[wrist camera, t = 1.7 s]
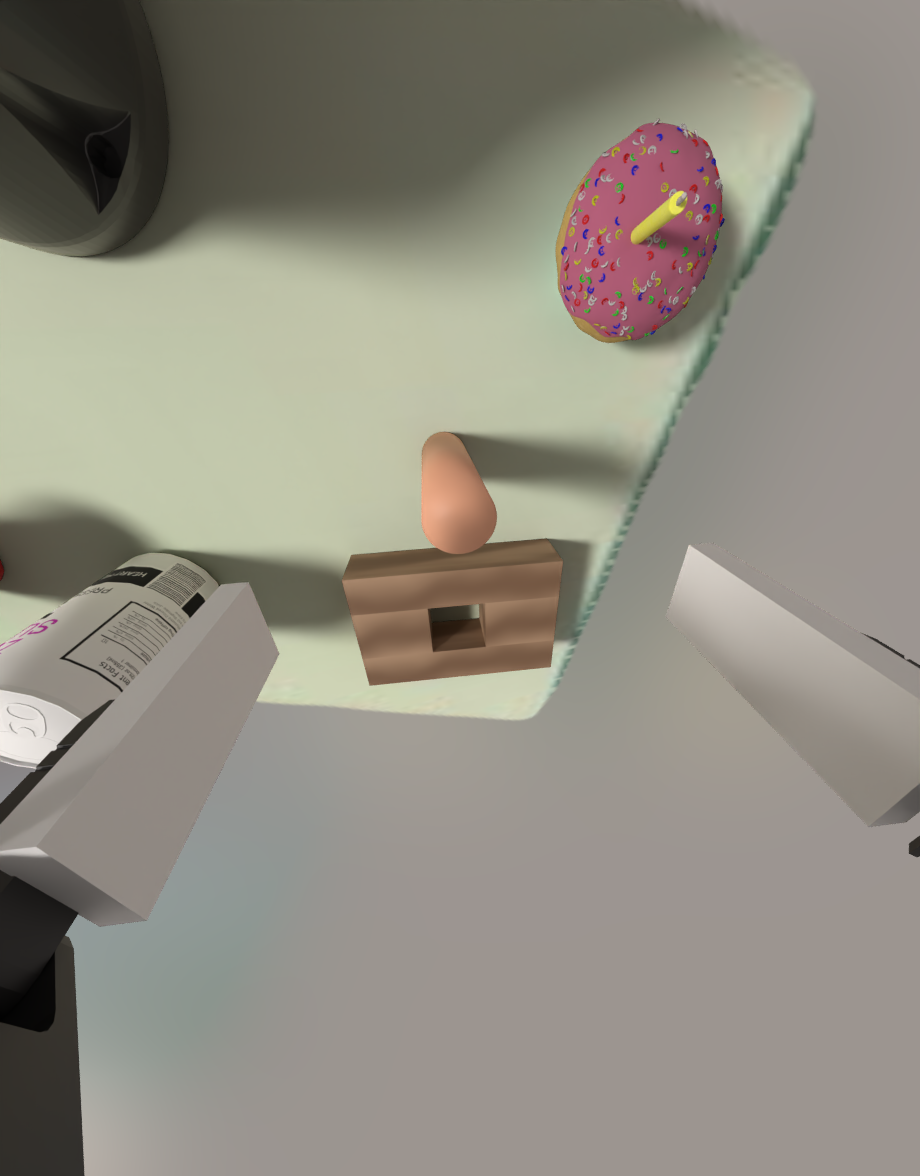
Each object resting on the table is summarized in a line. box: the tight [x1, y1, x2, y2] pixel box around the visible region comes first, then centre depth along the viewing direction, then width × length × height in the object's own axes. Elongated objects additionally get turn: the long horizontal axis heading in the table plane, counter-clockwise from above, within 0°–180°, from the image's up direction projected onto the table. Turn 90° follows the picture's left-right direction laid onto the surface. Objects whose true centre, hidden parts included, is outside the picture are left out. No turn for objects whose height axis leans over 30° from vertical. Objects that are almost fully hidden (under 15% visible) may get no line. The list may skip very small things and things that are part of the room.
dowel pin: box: [422, 432, 497, 554], centre depth 22 cm, size 4×4×14 cm
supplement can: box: [0, 553, 219, 769], centre depth 26 cm, size 8×8×15 cm
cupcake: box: [556, 118, 725, 343], centre depth 18 cm, size 9×8×12 cm
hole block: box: [342, 539, 563, 686], centre depth 34 cm, size 12×18×4 cm, turn 93°
